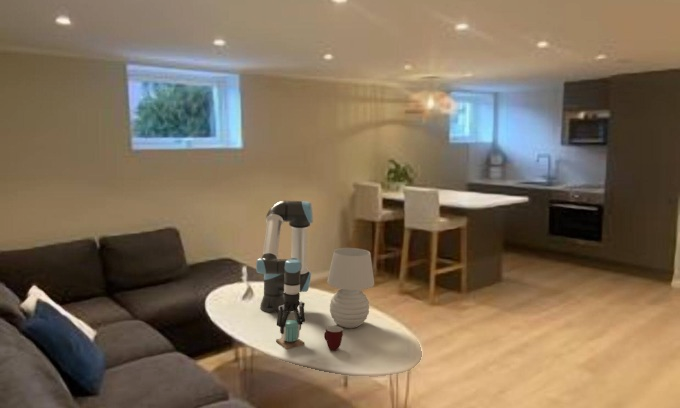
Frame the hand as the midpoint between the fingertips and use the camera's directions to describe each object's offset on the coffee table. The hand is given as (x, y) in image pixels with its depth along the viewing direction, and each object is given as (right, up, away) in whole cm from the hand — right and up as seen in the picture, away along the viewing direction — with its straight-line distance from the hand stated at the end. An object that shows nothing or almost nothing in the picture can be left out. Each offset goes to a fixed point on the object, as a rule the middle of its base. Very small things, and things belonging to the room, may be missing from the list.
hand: (290, 338), depth 249 cm
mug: (+20, -4, -3) cm, 21 cm away
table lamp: (+29, 0, +29) cm, 41 cm away
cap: (0, 0, 0) cm, 0 cm away
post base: (0, -3, 0) cm, 3 cm away
